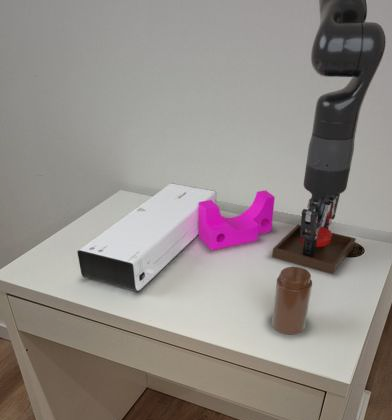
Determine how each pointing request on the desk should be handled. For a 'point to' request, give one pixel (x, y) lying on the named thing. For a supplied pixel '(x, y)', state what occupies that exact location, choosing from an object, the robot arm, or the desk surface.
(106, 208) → the desk surface
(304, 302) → the jar
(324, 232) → the lid
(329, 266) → the tray
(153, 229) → the laminator
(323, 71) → the robot arm
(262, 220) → the toy block
